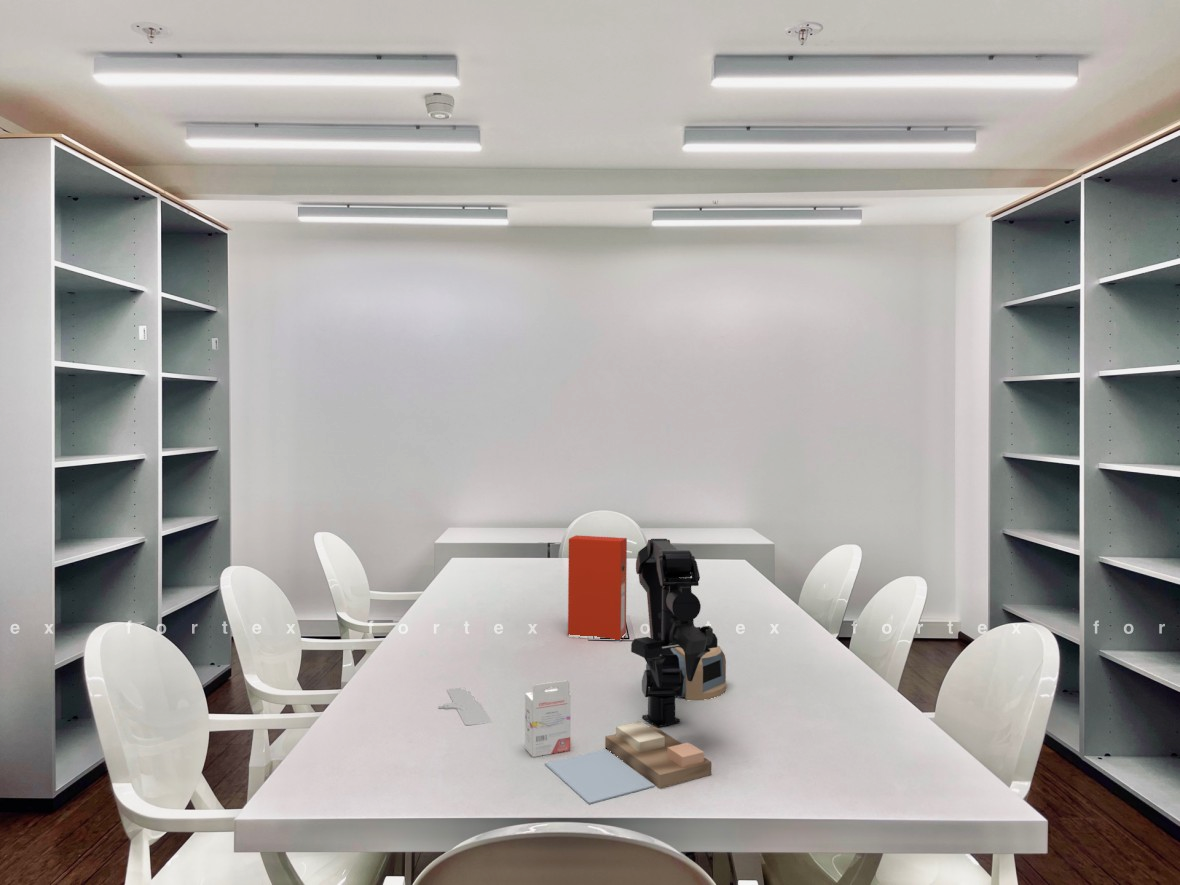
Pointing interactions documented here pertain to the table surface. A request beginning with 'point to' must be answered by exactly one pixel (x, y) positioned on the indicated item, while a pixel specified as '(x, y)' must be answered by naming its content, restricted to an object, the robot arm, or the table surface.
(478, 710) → the grey flat piece
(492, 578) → the table surface
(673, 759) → the terracotta tile
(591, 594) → the file binder
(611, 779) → the mat
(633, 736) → the birch tile
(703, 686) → the alarm clock
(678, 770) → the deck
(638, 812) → the table surface
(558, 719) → the ink cartridge box
